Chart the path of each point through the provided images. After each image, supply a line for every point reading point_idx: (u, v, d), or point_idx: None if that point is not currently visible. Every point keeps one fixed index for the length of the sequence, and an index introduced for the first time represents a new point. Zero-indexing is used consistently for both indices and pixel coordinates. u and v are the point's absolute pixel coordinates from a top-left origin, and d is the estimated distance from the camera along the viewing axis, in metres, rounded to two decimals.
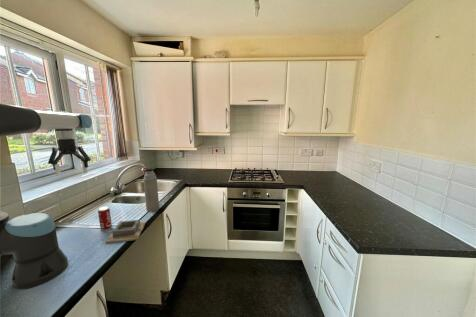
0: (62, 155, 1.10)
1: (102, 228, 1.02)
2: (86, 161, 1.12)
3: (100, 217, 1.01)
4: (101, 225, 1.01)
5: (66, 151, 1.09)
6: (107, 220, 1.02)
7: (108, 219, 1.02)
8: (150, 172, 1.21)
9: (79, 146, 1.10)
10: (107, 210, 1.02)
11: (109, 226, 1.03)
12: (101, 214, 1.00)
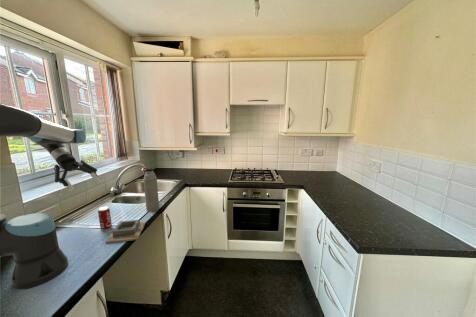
0: (66, 172, 1.01)
1: (102, 228, 1.02)
2: (94, 171, 1.12)
3: (100, 217, 1.01)
4: (101, 225, 1.01)
5: (71, 166, 1.04)
6: (107, 220, 1.02)
7: (108, 219, 1.02)
8: (150, 172, 1.21)
9: (82, 160, 1.10)
10: (107, 210, 1.02)
11: (109, 226, 1.03)
12: (101, 214, 1.00)
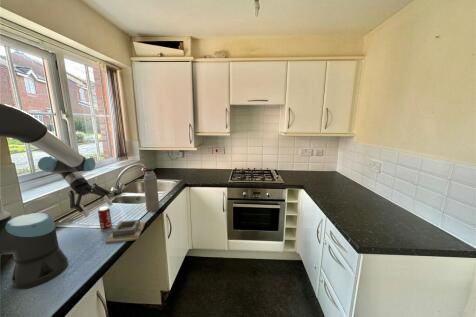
0: None
1: (102, 228, 1.02)
2: None
3: (100, 217, 1.01)
4: (101, 225, 1.01)
5: (85, 190, 1.06)
6: (107, 220, 1.02)
7: (108, 219, 1.02)
8: (150, 172, 1.21)
9: (94, 183, 1.12)
10: (107, 210, 1.02)
11: (109, 226, 1.03)
12: (101, 214, 1.00)
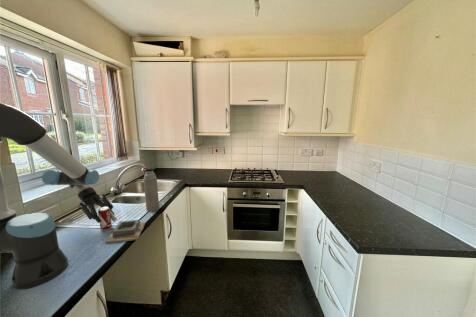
0: None
1: (102, 228, 1.02)
2: (111, 209, 1.07)
3: None
4: (101, 225, 1.01)
5: (93, 200, 1.03)
6: (107, 220, 1.02)
7: (108, 219, 1.02)
8: (150, 172, 1.21)
9: None
10: (107, 210, 1.02)
11: (109, 226, 1.03)
12: (101, 214, 1.00)
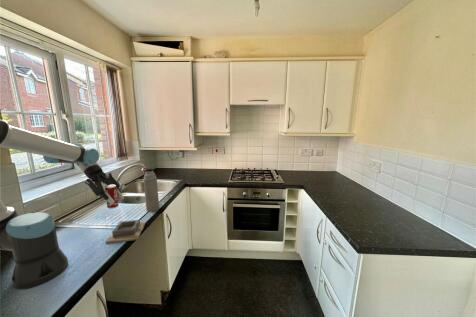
0: None
1: (109, 206, 0.99)
2: None
3: None
4: (108, 203, 0.99)
5: (100, 177, 1.00)
6: (114, 198, 1.00)
7: (115, 197, 1.00)
8: (150, 172, 1.21)
9: (110, 173, 1.07)
10: (114, 188, 0.99)
11: (116, 204, 1.01)
12: (109, 191, 0.97)
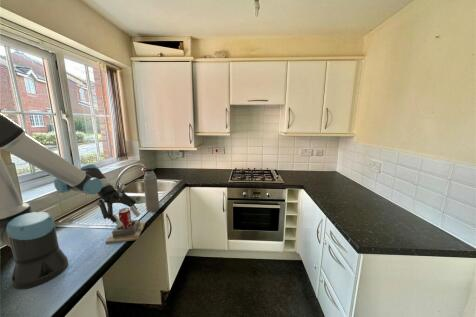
0: None
1: None
2: (133, 204, 1.05)
3: (121, 219, 0.96)
4: (122, 227, 0.97)
5: (113, 198, 0.99)
6: (128, 222, 0.98)
7: (128, 221, 0.98)
8: (150, 172, 1.21)
9: (122, 191, 1.05)
10: (128, 211, 0.98)
11: None
12: (122, 215, 0.96)
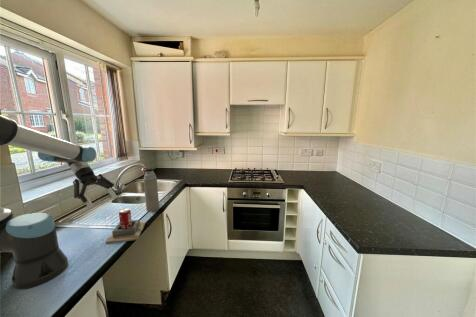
0: (85, 186, 0.98)
1: None
2: (111, 186, 1.09)
3: (121, 219, 0.96)
4: (122, 227, 0.97)
5: (90, 180, 1.01)
6: (128, 222, 0.98)
7: (129, 221, 0.98)
8: (150, 172, 1.21)
9: (100, 174, 1.07)
10: (128, 212, 0.98)
11: None
12: (122, 215, 0.96)
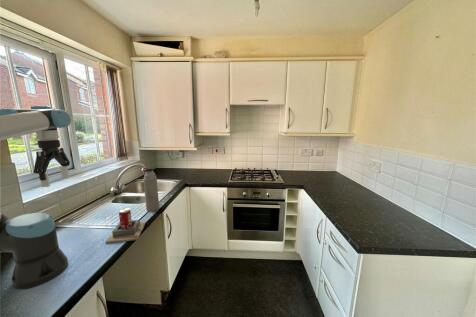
0: None
1: None
2: None
3: (121, 219, 0.96)
4: (122, 227, 0.97)
5: None
6: (128, 222, 0.98)
7: (129, 221, 0.98)
8: (150, 172, 1.21)
9: None
10: (128, 212, 0.98)
11: None
12: (122, 215, 0.96)
